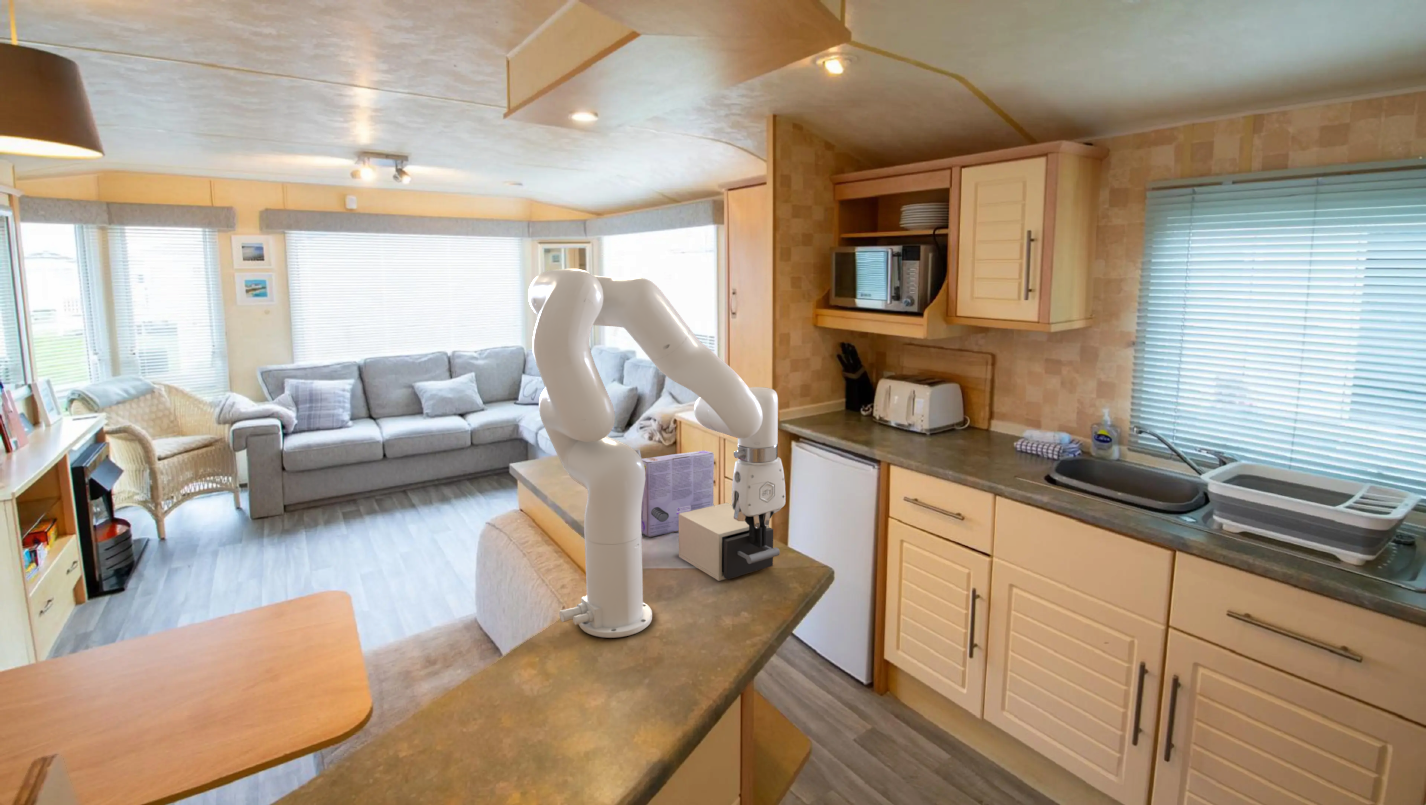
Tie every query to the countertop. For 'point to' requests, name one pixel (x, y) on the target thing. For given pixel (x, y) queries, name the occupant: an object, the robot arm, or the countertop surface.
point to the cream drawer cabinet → (707, 536)
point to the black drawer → (746, 554)
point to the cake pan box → (675, 489)
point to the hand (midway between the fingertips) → (757, 544)
